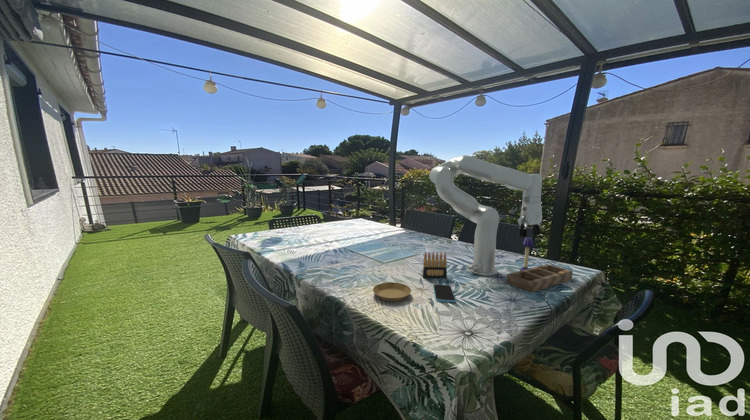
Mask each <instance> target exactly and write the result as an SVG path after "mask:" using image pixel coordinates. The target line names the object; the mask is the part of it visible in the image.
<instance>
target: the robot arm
mask: <svg viewBox="0 0 750 420" xmlns="http://www.w3.org/2000/svg"><path fill="white" fill-rule="evenodd" d="M459 175H465V176H469V177H471V178H475V179H478V180H481V181H483V182H488V183H494V184H501V185H504V186H505V187H506V188H507V189H509V190H514V191H522V199H521V200H522V201H521V203H522V204H521V209H520V217H518V219H517V223H518V228H519V237H520V238H524V239H525V238H526V237H527V234H528V228H527V227H528V226H532V231H531V234H532V235H536V236H539V235H540V231H541V230H540V229H541V226H542V221H543V211H542V209H543V208H542V203H541V202H542V188H543V187H542V185H543V176H542V175H543V174H541V173H526V172H524V171H521V170H518V169H514V168H511V167H508V166H503V165H500V164H495V163H493V162H492V163H491V162H489V161H485V160H482V159H480V158H477V157H473V156H470V155H467V154H466V155H460V156H455V157H454V158H452V159H450V160H448V161H445V162H442V163H441V164H438V165H437V166H435V167H433V168H431V170H430V172H429V175H428V176H429V179H430V181H431V182H432V184H435V185H434V186H435V190H436V194H437V195H438V197H440V199H441V200H443V201H444V202H446V204H449V205H450V206H451V207H452V209H453V211H455V212H456V213H458V214H460V215H461V216H463V217H464V218H466V219H468V220H469V221H471V222H473V223H475V224H476V227H475V231H474V240H473V241H474V242H473V243H474V244H473V245H474V246H473V261H472V262H471V265H466V270H467V271H470V272H471V273H473V274H476V275H480V276H483V277H484V276H486V277H491V276H493V277H494V276H497V275H498V274H499V271H498V269H497V268H495V265H496V264H495V263H496V248H497V231H498V227H499V223H500V214H499V213H498V211H497V209H495V208H493V207H490V206H487V205H483V204H481V203H479V202H478V200H477V199H476V198H475V197H474V196H473V195H470V194H469V193H467V192H465V191H464V190H462V189H461V188H459V187H458V186H457V185H456V184H455V183H454V178H455V177H457V176H459Z"/></svg>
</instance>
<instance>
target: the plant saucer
mask: <svg viewBox="0 0 750 420" xmlns="http://www.w3.org/2000/svg"><path fill="white" fill-rule="evenodd" d="M372 291H373V293H374V294H375V295H376V297H377V298H379V299H380V300H383V301H385V302H390V303H391V302H392V303H393V302H394V303H395V302H400V301H403V300H405V299H406V298H408V297H409V295H410V294H411V293H412V288H411V287H410V286H408V285H406V284H404V283H400V282H395V281H394V282H393V281H390V282H382V283H378V284H376V285H375V286H373V287H372Z"/></svg>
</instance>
